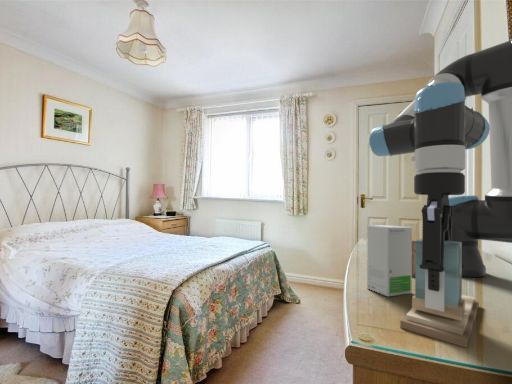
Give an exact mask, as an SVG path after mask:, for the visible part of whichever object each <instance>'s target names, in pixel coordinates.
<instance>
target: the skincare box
mask: <svg viewBox="0 0 512 384" xmlns="http://www.w3.org/2000/svg"><path fill="white" fill-rule="evenodd" d="M412 228H413V227H412V226H400V225H391V224H390V225H385V224H383V225H380V224H368V225H367V256H366V257H367V263H366V264H367V269H366V270H367V271H366V272H367V274H366V276H367V277H366V289H367V290H369V289H370V290H369V291H371V290H372V292H374V291H375V292H374V293H376V292H377V294H379V293H380V295H382V296H384V297H385V296H386V297H394V296H401V295H408V294H412V293H413V292H412V290H413V288H412V287H413V285H412V283H413V282H412V278H413V276H412V241H413V240H412V239H413V238H412V236H413V235H412V234H413V233H412V232H413V231H412Z"/></svg>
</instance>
